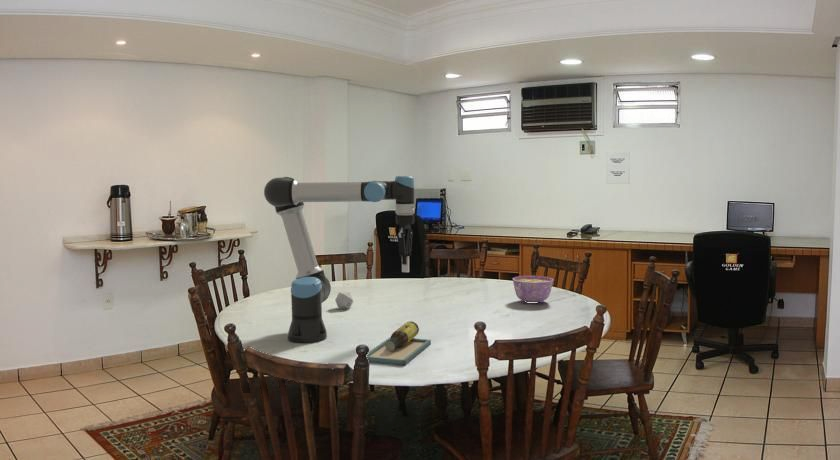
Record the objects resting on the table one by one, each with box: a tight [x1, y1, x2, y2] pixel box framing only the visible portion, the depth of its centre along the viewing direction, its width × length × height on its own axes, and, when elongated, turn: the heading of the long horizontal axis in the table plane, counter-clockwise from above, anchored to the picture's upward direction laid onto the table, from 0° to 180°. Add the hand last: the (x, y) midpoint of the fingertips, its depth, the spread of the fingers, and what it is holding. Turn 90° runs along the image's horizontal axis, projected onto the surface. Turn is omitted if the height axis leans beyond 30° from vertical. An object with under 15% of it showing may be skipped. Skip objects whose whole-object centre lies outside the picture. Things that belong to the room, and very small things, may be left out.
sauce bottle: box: [385, 320, 420, 351], centre depth 240 cm, size 6×6×20 cm
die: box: [334, 291, 354, 310], centre depth 308 cm, size 8×9×10 cm
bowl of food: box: [512, 275, 554, 303], centre depth 320 cm, size 20×20×12 cm
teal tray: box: [367, 336, 432, 367], centre depth 234 cm, size 28×16×2 cm, turn 161°
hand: (405, 271), depth 264 cm, fingers closed
